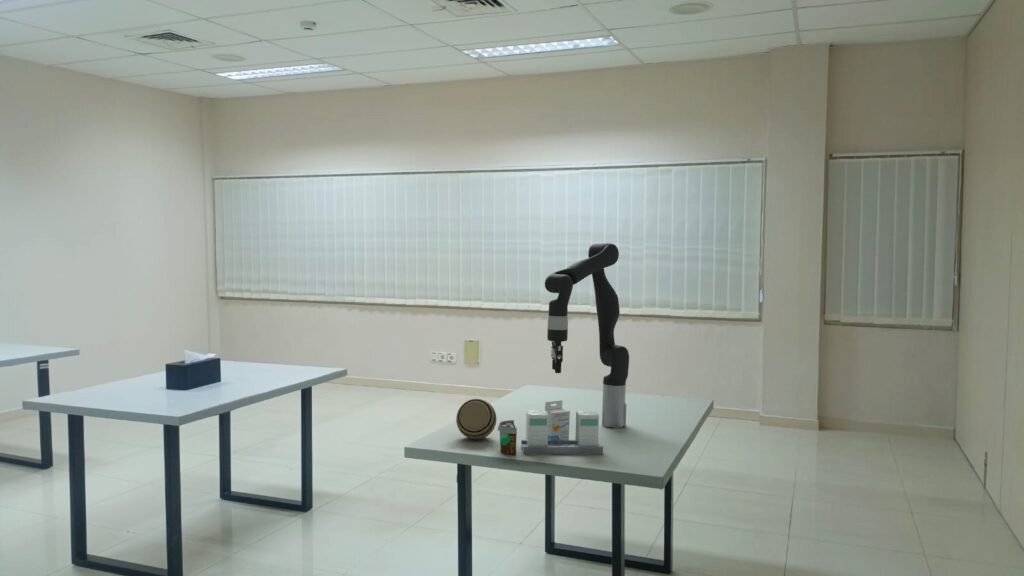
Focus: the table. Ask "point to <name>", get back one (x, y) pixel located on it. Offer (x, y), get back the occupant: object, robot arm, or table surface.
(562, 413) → the ink box
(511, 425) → the food container
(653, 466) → the table surface
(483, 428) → the mechanical component
